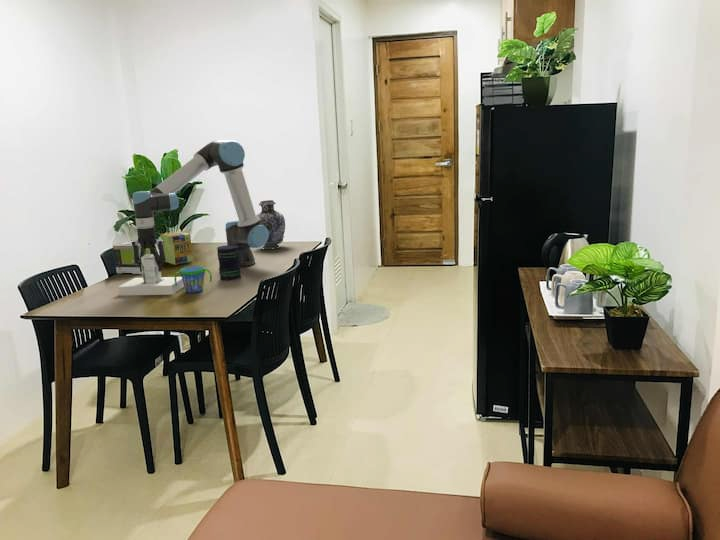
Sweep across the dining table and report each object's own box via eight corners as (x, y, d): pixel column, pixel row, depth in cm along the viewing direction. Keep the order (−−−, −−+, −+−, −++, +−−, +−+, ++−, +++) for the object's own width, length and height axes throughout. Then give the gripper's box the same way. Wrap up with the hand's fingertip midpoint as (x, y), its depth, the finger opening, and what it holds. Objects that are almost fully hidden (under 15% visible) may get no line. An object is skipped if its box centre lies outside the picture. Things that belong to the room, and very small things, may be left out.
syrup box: (149, 285, 268) (145, 254, 265) (162, 285, 268) (158, 253, 265) (144, 289, 263) (140, 256, 260) (157, 288, 263) (153, 256, 259)
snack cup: (213, 286, 268) (210, 264, 265) (212, 292, 258) (210, 269, 255) (176, 290, 264) (174, 267, 262) (175, 296, 254) (172, 272, 252)
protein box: (175, 265, 317) (172, 236, 314) (163, 261, 329) (160, 233, 325) (193, 261, 324) (190, 233, 320) (181, 258, 335) (178, 231, 332)
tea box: (153, 270, 307) (149, 242, 304) (140, 274, 298) (136, 245, 295) (129, 269, 312) (125, 241, 309) (116, 273, 303) (112, 245, 300)
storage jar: (233, 274, 289) (230, 244, 286) (245, 277, 282) (242, 246, 279) (215, 278, 282) (212, 247, 279) (227, 281, 275) (224, 249, 272)
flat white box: (186, 285, 272) (185, 276, 271) (172, 294, 257) (171, 285, 256) (136, 286, 275) (134, 277, 274) (119, 295, 259) (118, 286, 258)
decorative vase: (284, 250, 342) (280, 202, 336) (252, 252, 342) (247, 204, 336) (289, 244, 363) (285, 198, 357) (259, 245, 363) (254, 200, 357)
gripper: (120, 229, 257) (128, 281, 262) (163, 227, 255) (169, 280, 260) (129, 226, 264) (135, 277, 269) (170, 225, 262) (176, 276, 267)
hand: (152, 278), depth 265 cm, fingers closed on syrup box, 6 cm apart
